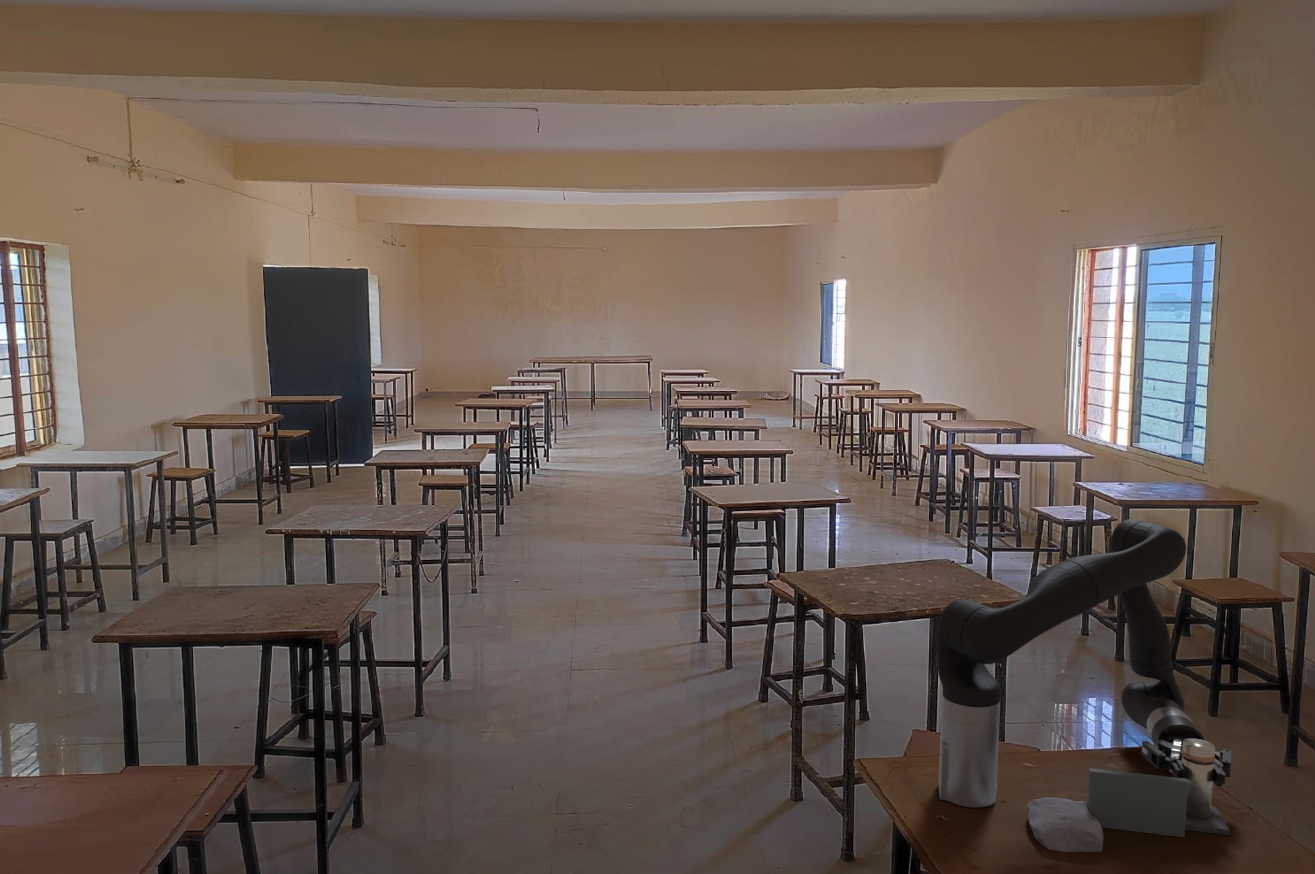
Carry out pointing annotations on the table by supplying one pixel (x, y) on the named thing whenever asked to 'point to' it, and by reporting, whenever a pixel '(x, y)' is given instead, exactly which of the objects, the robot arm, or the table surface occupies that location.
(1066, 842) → the stone block
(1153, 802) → the slate screen
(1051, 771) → the table surface
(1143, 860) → the table surface
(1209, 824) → the dark rubber mat
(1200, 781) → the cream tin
